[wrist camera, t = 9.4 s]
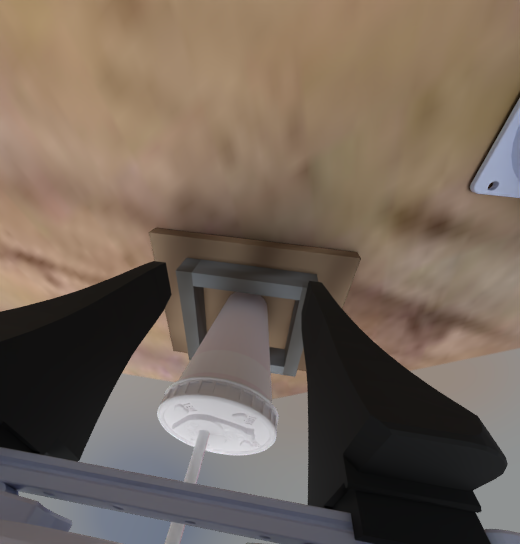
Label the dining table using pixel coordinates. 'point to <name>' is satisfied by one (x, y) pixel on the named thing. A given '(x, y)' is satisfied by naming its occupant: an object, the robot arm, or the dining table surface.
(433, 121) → the dining table surface
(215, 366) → the smoothie
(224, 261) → the bottle stand
